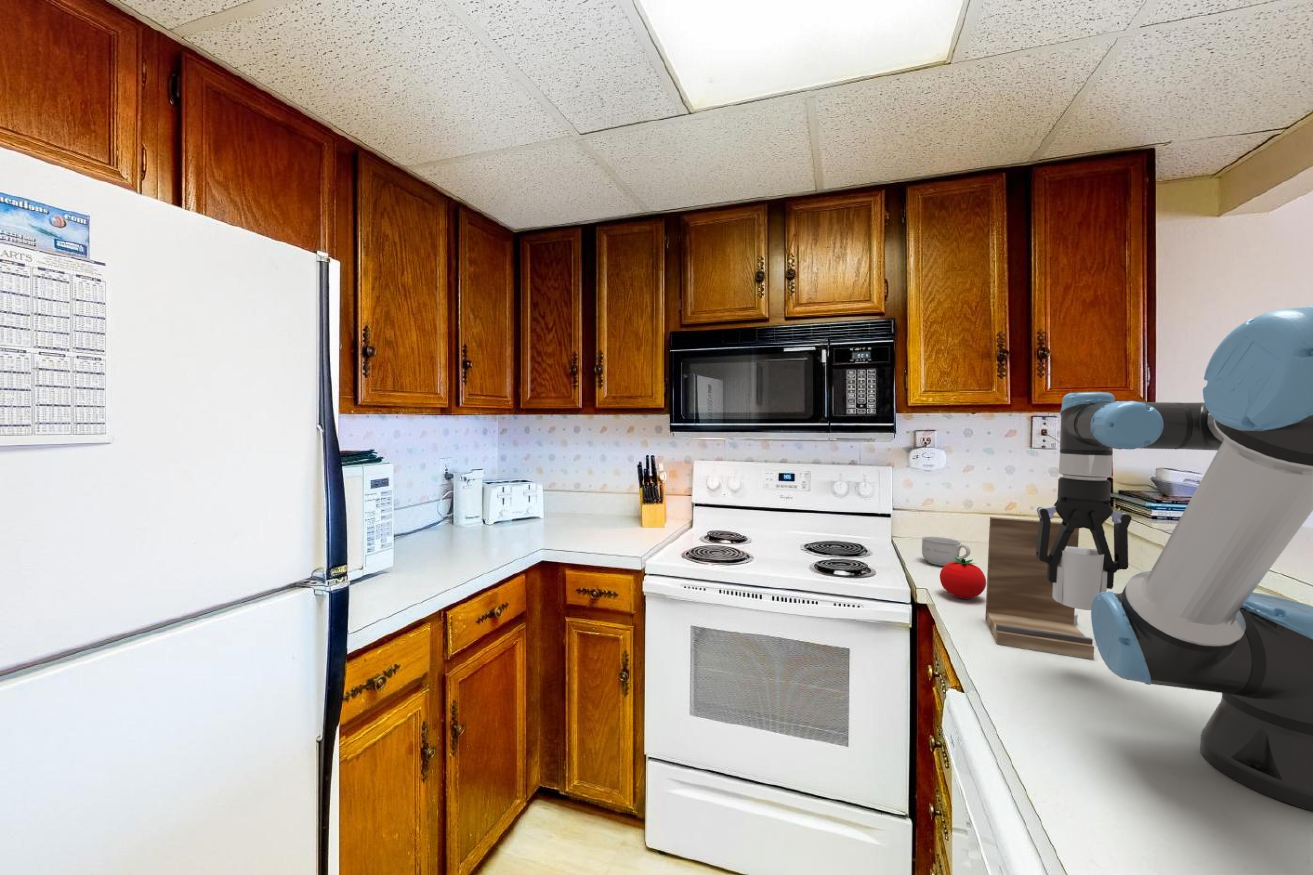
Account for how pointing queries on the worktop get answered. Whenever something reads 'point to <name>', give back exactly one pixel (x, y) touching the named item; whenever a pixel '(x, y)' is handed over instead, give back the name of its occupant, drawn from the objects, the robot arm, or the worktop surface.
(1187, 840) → the worktop surface
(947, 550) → the teacup
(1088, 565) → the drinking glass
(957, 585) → the tomato
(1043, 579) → the wooden display stand
